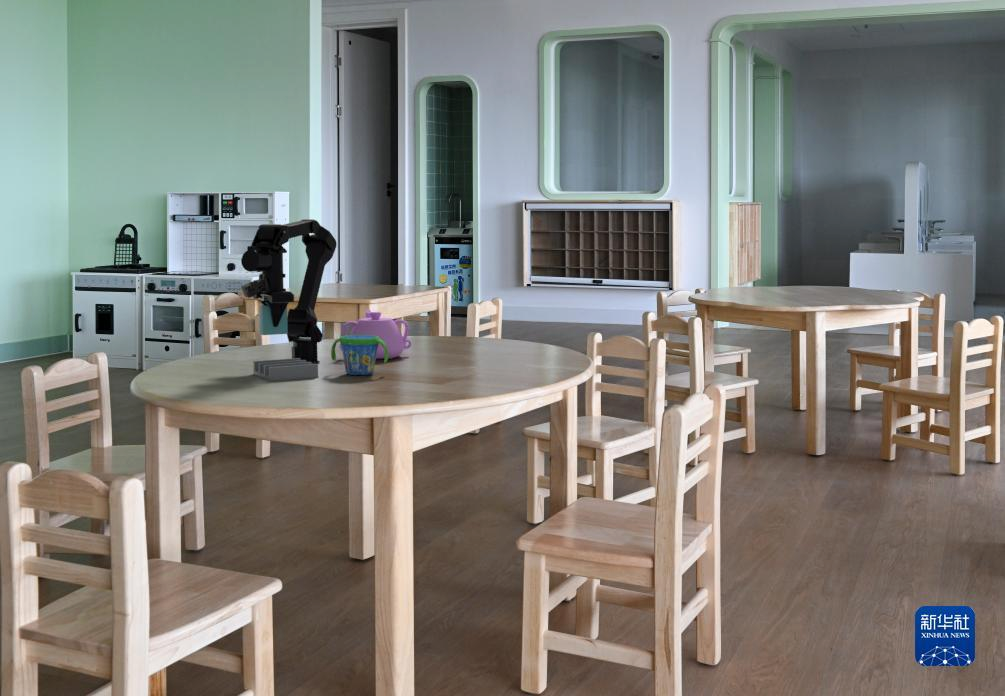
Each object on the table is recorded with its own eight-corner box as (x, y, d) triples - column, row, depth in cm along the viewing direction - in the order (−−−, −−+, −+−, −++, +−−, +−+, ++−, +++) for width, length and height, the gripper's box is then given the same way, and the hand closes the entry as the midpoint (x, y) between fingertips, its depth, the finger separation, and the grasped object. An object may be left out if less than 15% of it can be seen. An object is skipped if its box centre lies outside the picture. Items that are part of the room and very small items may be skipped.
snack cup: (394, 372, 297) (393, 335, 296) (378, 378, 287) (378, 339, 286) (342, 370, 302) (341, 333, 301) (325, 375, 292) (324, 337, 291)
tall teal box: (284, 333, 305) (284, 304, 304) (287, 333, 303) (287, 305, 302) (260, 334, 301) (259, 305, 300) (262, 335, 299) (262, 306, 298)
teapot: (401, 351, 345) (401, 307, 343) (418, 359, 324) (417, 313, 323) (332, 353, 338) (331, 309, 336) (345, 362, 317) (344, 315, 316)
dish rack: (299, 370, 301) (299, 358, 301) (318, 377, 288) (318, 364, 288) (253, 374, 295) (253, 361, 294) (270, 381, 282) (270, 367, 282)
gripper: (234, 269, 304) (235, 324, 306) (253, 272, 288) (255, 330, 290) (273, 268, 309) (274, 323, 311) (294, 271, 293) (295, 328, 295)
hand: (273, 326), depth 302 cm, fingers closed on tall teal box, 2 cm apart
